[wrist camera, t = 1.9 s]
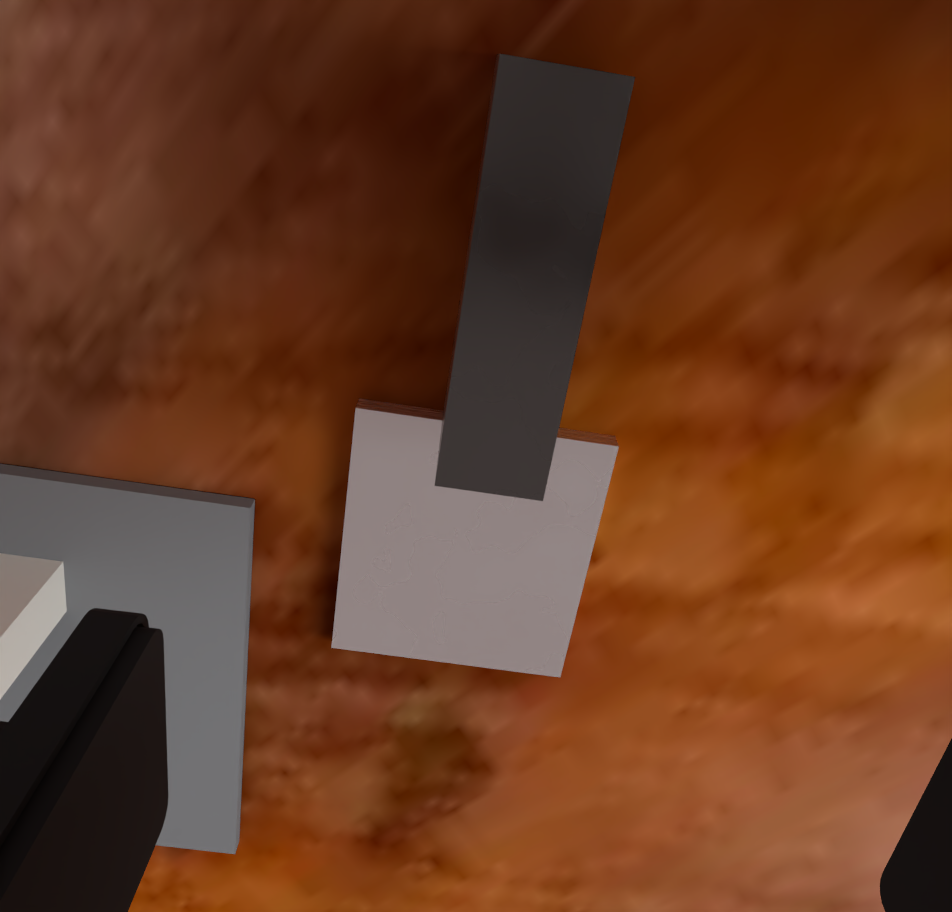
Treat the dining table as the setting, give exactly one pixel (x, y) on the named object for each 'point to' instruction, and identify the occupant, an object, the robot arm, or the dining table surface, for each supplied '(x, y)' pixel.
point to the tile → (27, 610)
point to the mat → (154, 616)
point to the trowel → (496, 408)
